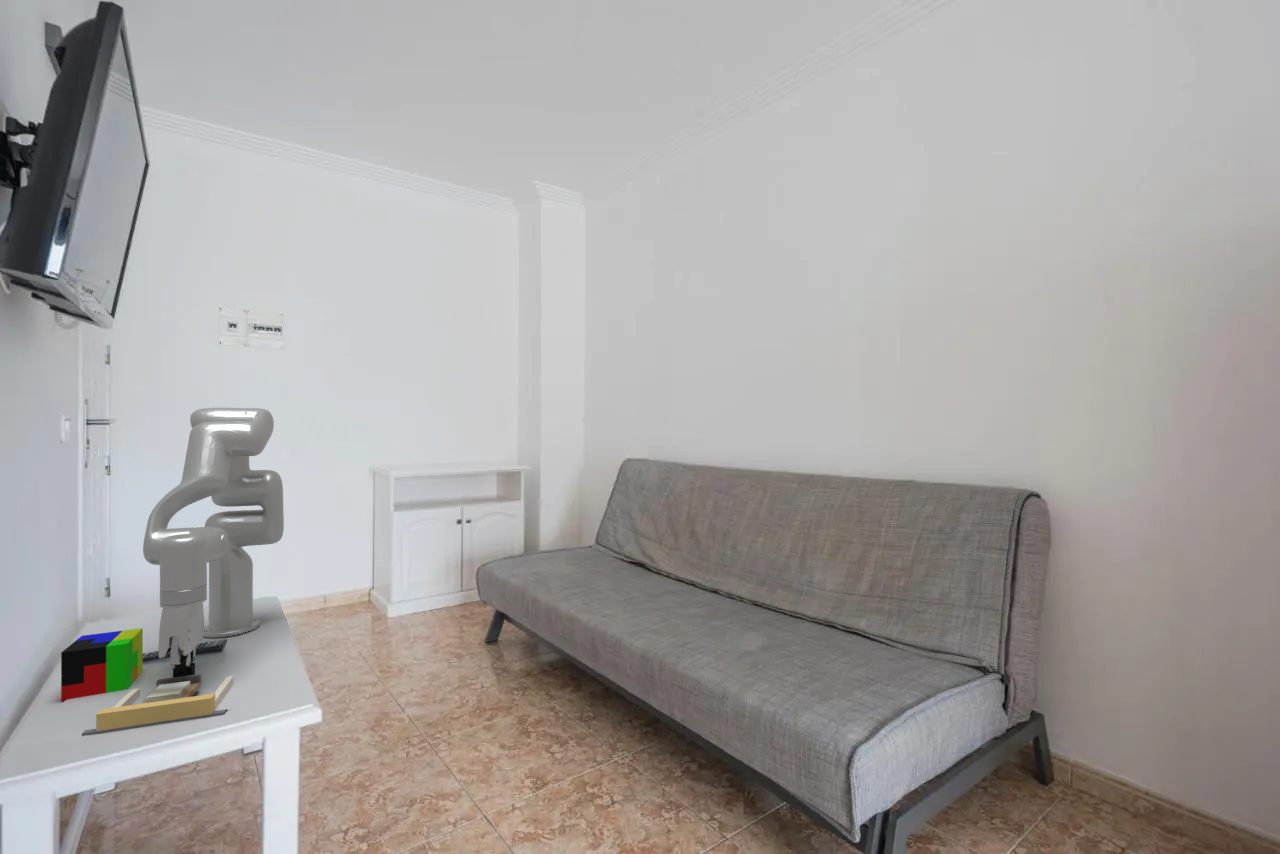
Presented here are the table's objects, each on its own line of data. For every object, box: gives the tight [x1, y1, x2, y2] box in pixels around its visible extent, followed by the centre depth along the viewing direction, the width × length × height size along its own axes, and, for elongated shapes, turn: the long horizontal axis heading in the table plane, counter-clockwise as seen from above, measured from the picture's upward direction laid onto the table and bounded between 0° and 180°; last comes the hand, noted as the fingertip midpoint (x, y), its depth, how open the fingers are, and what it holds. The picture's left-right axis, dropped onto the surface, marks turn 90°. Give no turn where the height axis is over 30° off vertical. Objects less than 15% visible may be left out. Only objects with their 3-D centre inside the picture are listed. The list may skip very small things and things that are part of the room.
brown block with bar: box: [140, 673, 202, 704], centre depth 110 cm, size 9×7×4 cm
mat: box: [81, 675, 235, 737], centre depth 116 cm, size 26×21×3 cm
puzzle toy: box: [60, 627, 144, 703], centre depth 119 cm, size 10×10×10 cm
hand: (184, 684), depth 117 cm, fingers closed
